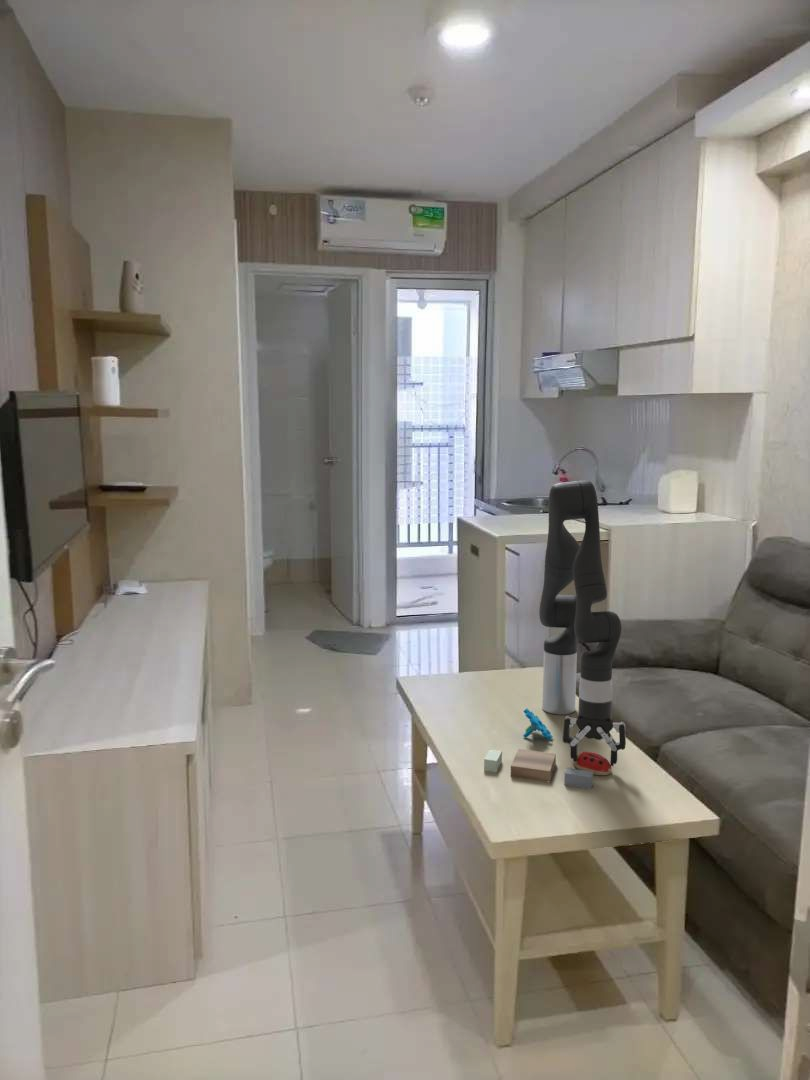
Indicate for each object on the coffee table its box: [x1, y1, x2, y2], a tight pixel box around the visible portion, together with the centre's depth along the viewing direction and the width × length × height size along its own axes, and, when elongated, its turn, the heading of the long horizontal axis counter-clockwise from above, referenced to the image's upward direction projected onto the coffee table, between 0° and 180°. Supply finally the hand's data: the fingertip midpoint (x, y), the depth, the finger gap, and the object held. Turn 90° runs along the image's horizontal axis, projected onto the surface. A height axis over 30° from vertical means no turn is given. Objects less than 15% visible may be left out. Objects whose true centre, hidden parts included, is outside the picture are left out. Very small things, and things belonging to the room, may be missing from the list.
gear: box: [522, 708, 553, 741], centre depth 207 cm, size 11×6×10 cm
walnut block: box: [510, 748, 557, 782], centre depth 188 cm, size 10×9×3 cm
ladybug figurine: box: [572, 751, 613, 776], centre depth 189 cm, size 7×10×4 cm
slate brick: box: [563, 767, 594, 790], centre depth 181 cm, size 6×3×3 cm, turn 69°
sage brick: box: [483, 748, 503, 773], centre depth 190 cm, size 6×3×3 cm, turn 161°
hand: (593, 762), depth 188 cm, fingers open, 8 cm apart
